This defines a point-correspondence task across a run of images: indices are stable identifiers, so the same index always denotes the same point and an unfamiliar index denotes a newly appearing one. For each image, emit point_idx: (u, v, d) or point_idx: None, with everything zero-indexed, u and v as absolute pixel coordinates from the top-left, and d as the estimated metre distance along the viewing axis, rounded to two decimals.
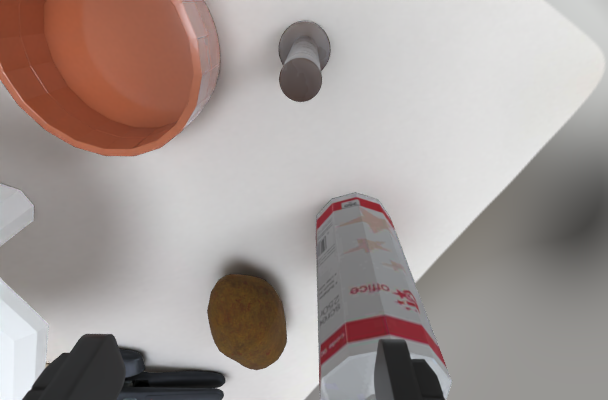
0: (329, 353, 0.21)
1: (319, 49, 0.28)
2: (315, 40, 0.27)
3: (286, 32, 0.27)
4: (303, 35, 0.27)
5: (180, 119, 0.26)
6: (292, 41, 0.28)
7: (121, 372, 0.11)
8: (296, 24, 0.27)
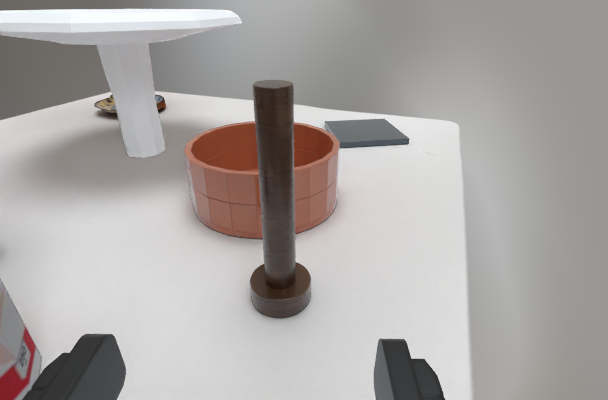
0: None
1: (283, 290, 0.23)
2: (292, 285, 0.23)
3: (296, 263, 0.25)
4: (296, 275, 0.24)
5: (214, 167, 0.29)
6: None
7: (121, 372, 0.11)
8: (305, 270, 0.25)
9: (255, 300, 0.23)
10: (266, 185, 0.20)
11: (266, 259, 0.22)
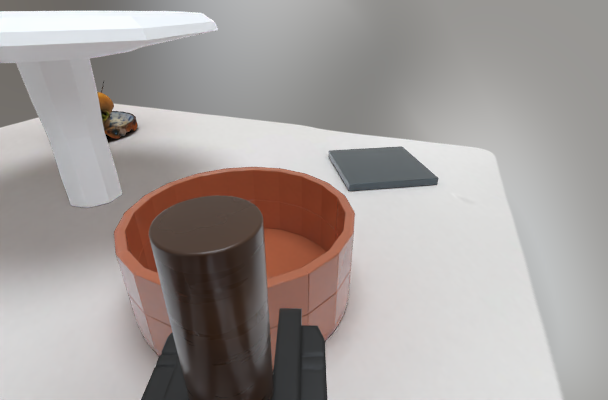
0: None
1: None
2: None
3: None
4: None
5: (152, 272, 0.17)
6: None
7: None
8: None
9: None
10: None
11: None
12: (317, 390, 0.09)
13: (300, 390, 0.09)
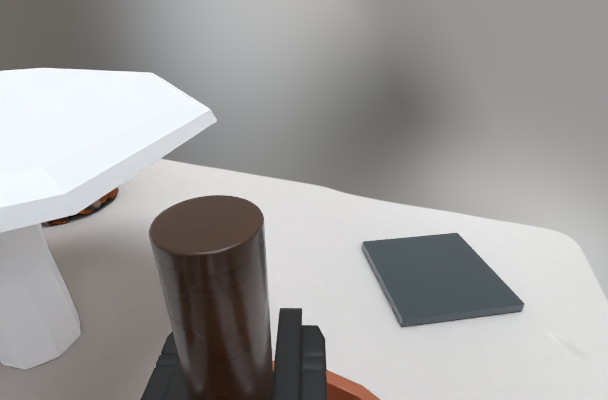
0: None
1: None
2: None
3: None
4: None
5: None
6: None
7: None
8: None
9: None
10: None
11: None
12: (317, 390, 0.09)
13: (300, 390, 0.09)
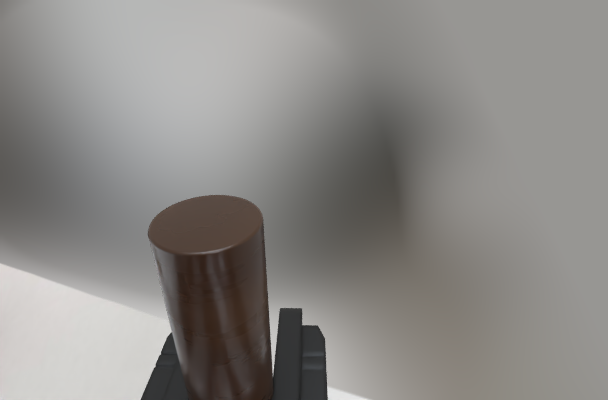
0: None
1: None
2: None
3: None
4: None
5: None
6: None
7: None
8: None
9: None
10: None
11: None
12: (318, 390, 0.09)
13: (300, 390, 0.09)
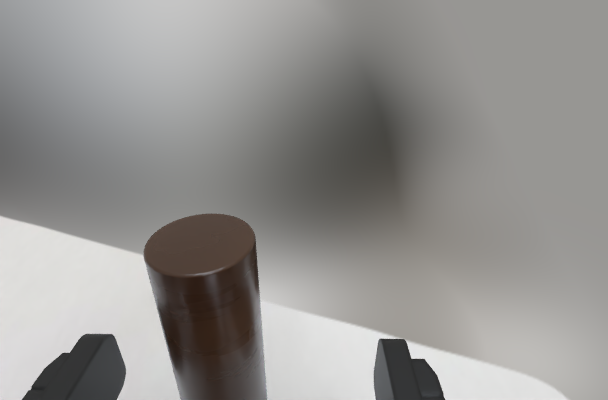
0: None
1: None
2: None
3: None
4: None
5: None
6: None
7: (121, 372, 0.11)
8: None
9: None
10: None
11: None
12: None
13: None
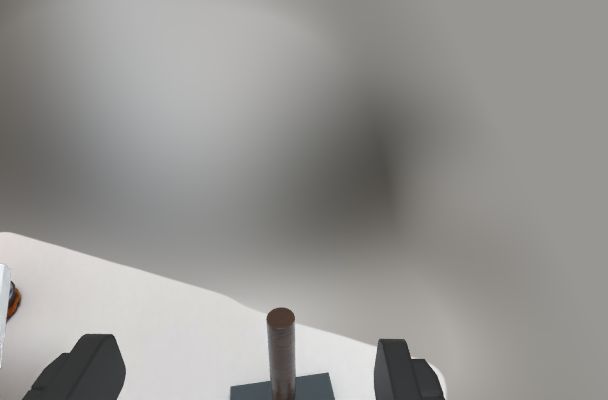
0: None
1: None
2: None
3: None
4: None
5: None
6: None
7: (121, 372, 0.11)
8: None
9: None
10: (275, 375, 0.27)
11: None
12: None
13: None
